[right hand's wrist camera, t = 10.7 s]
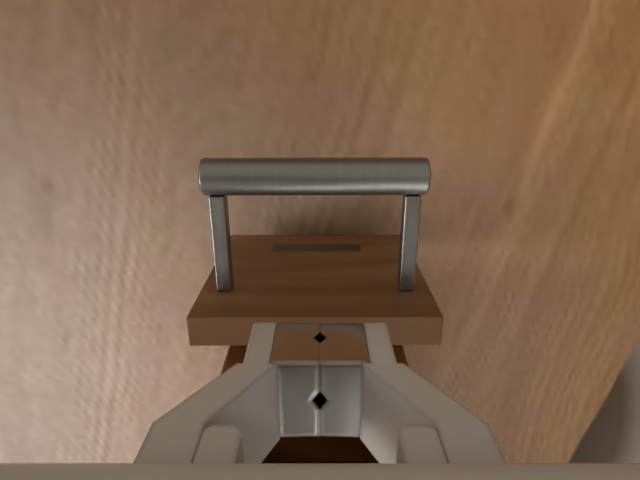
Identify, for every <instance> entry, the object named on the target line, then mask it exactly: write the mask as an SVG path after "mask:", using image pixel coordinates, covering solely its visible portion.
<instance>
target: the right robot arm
mask: <svg viewBox="0 0 640 480" xmlns="http://www.w3.org/2000/svg"><path fill="white" fill-rule="evenodd" d="M301 436H338V437H360V439H361V441H362V442H363V443H364V444H365V446H366V447H367V448H368V450H369V451H370V452H371V453H372V455H373V456H374V457H375V458H376V460H377V461H378V462H379V463H262V461H263V460H264V459H265V457H266V456H267V455H268V454H269V452H270V451H271V450H272V449H273V447H274V446H275V445H276V444H277V442H278V441H279V440H280V437H301ZM0 480H640V463H506V461H505V459H504V457H503V454H502V452H501V450H500V448H499V446H498V444H497V442H496V440H495V438H494V435H493V433H492V431H491V429H490V427H489V425H488V423H486V422H485V421H484V420H482V419H481V418H479V417H478V416H477V415H475V414H474V413H472V412H471V411H470V410H468V409H467V408H465V407H464V406H462V405H461V404H460V403H458V402H457V401H455V400H454V399H453V398H451V397H450V396H448V395H447V394H446V393H444V392H443V391H441V390H440V389H439V388H437V387H436V386H434V385H433V384H432V383H430V382H429V381H427V380H426V379H424V378H423V377H422V376H420V375H419V374H417V373H416V372H415V371H413V370H412V369H410V368H409V367H408V366H406V365H405V364H403V363H397V362H396V358H395V354H394V351H393V347H392V343H391V339H390V336H389V332H388V328H387V324H386V323H385V322H372V323H331V324H320V323H276V322H256V323H255V324H254V325H253V328H252V331H251V335H250V339H249V343H248V347H247V350H246V354H245V358H244V362H243V363H237V364H235V365H234V366H232V367H231V368H230V369H228V370H227V371H225V372H224V373H223V374H221V375H220V376H218V377H217V378H215V379H214V380H213V381H211V382H210V383H208V384H207V385H206V386H204V387H203V388H201V389H200V390H198V391H197V392H196V393H194V394H193V395H191V396H190V397H189V398H187V399H186V400H184V401H183V402H181V403H180V404H179V405H177V406H176V407H174V408H173V409H172V410H170V411H169V412H167V413H166V414H165V415H163V416H162V417H160V418H159V419H157V420H156V421H155V422H153V423H152V425H151V427H150V430H149V432H148V434H147V436H146V438H145V440H144V442H143V444H142V446H141V448H140V450H139V452H138V454H137V457H136V459H135V461H134V463H0Z"/></svg>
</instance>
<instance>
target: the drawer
mask: <svg viewBox="0 0 640 480" xmlns="http://www.w3.org/2000/svg"><path fill="white" fill-rule="evenodd" d="M198 179H199V186H200V190H201V192H202V194H204V195H210V196H209V198H208V199H209V210H210V221H211V232H212V243H213V253H214V264H215V266H214V268H213V269H212V271H211V273H210V275H209V277H208V279H207V281H206V282H205V284H204V286H203V288H202V290H201V292H200V294H199V296H198V297H197V299H196V301H195V303H194V305H193V307H192V309H191V310H190V312H189V314H188V316H187V325H188V334H189V342H190V345H230V347H229V350H228V353H227V356H226V359H225V362H224V365H223V368H222V371H221V374H223V373H224V372H225V371H227V370H228V369H230V368H231V367H232V366H234V365H235V364H237V363H243V362H244V358H245V354H246V350H247V347H248V343H249V339H250V335H251V331H252V328H253V325H254V324H255V323H256V322H276V323H320V324H331V323H372V322H385V323H386V324H387V328H388V332H389V336H390V339H391V343H392V347H393V351H394V354H395V358H396V362H397V363H403V364H405V365H406V366H408V363H407V360H406V357H405V353H404V350H403V347H402V345H440V343H441V334H442V325H443V316H442V314H441V312H440V310H439V308H438V306H437V304H436V302H435V300H434V298H433V296H432V294H431V292H430V290H429V288H428V286H427V284H426V282H425V280H424V278H423V276H422V274H421V272H420V270H419V268H418V266H417V264H416V257H417V245H418V232H419V220H420V207H421V196H420V195H425V194H427V192H428V190H429V187H430V180H431V168H430V163H429V160H428V159H427V158H203V159H201V161H200V164H199V170H198ZM227 195H403V202H402V217H401V233H400V235H231V236H230V229H229V216H228V203H227ZM221 374H220V375H221ZM262 463H379V462H378V461H377V460H376V458H375V457H374V456H373V455H372V453H371V452H370V451H369V450H368V448H367V447H366V446H365V444H364V443H363V442H362V441H361V439H360V437H338V436H301V437H280V440H279V441H278V442H277V444H276V445H275V446H274V447H273V449H272V450H271V451H270V452H269V454H268V455H267V456H266V457H265V459H264V460H263V461H262Z"/></svg>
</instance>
